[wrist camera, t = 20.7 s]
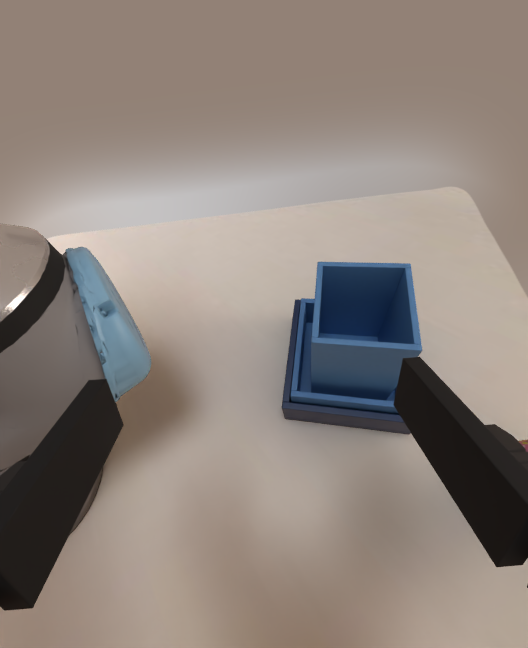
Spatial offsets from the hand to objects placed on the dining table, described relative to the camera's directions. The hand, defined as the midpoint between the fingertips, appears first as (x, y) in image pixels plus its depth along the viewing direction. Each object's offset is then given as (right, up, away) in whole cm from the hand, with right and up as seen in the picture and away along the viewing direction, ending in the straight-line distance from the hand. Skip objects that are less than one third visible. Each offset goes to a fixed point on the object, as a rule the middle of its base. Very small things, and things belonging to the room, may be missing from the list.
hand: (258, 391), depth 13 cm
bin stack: (+10, -3, +23) cm, 25 cm away
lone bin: (+10, -2, +22) cm, 24 cm away
